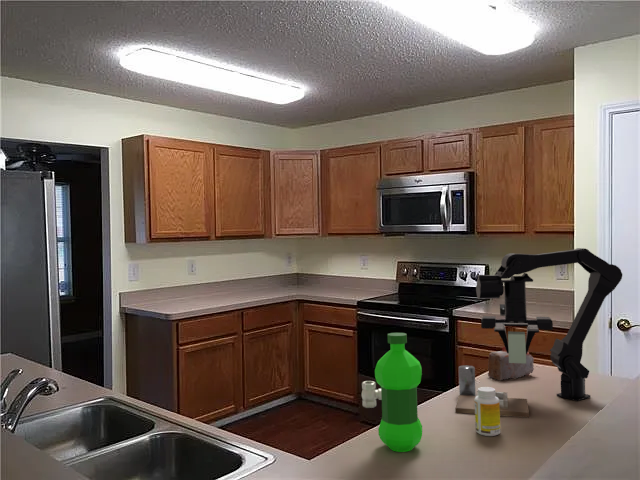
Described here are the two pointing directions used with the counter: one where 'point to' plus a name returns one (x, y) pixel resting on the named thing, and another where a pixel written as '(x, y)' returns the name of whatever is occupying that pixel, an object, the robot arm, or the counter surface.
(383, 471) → the counter surface
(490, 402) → the supplement bottle
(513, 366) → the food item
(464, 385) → the round peg
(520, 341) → the square peg
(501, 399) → the bore board
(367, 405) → the valve
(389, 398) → the plastic bottle
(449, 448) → the counter surface
